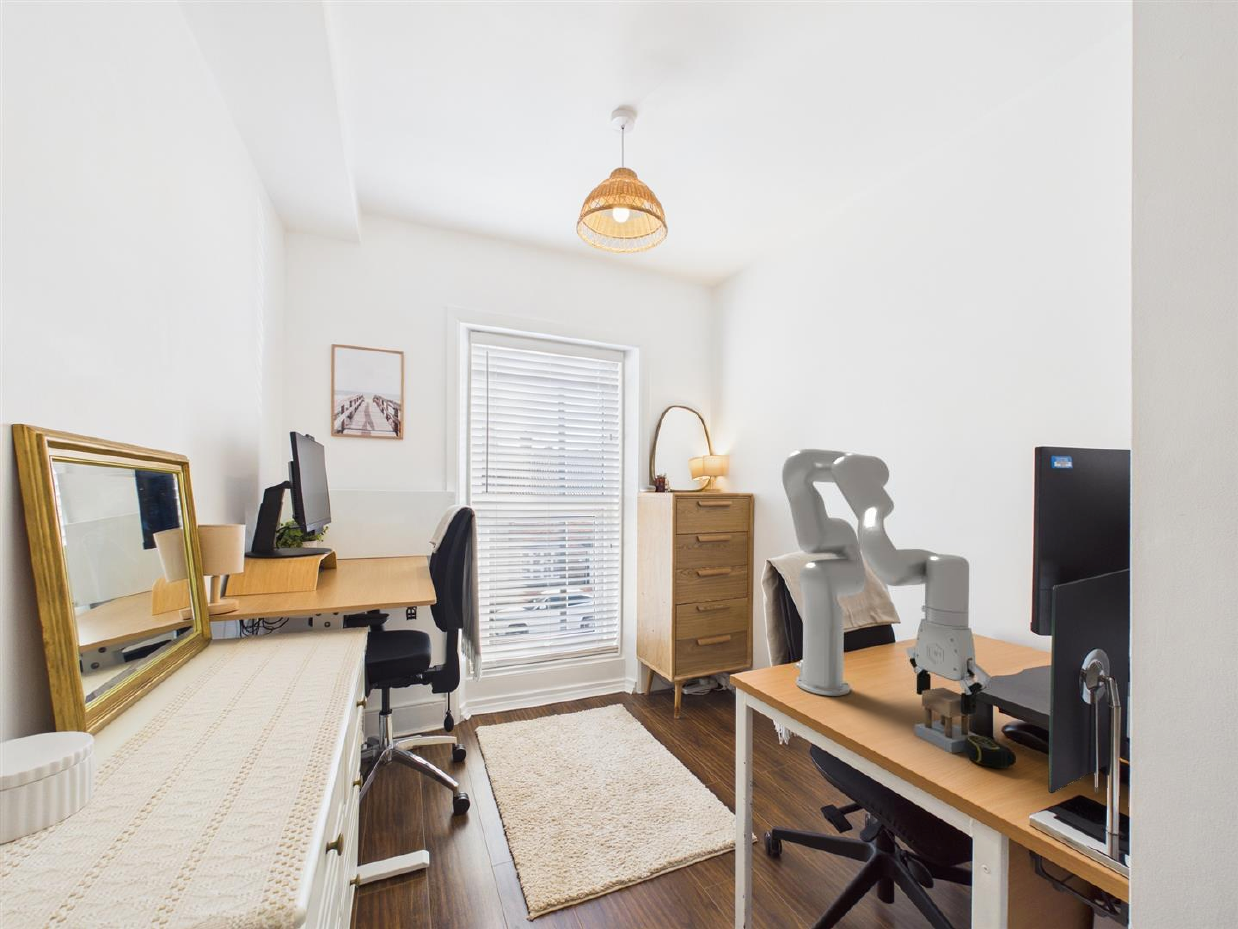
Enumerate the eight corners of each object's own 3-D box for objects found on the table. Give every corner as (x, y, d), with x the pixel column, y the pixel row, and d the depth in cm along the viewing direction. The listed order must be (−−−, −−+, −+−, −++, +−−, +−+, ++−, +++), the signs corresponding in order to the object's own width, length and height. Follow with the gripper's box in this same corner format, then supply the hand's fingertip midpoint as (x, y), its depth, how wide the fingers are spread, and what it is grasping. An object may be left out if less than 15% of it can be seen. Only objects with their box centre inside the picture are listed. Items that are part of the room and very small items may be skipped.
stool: (921, 726, 108) (922, 690, 108) (943, 722, 110) (943, 687, 111) (949, 739, 103) (949, 702, 103) (971, 735, 105) (971, 698, 105)
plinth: (914, 734, 109) (914, 724, 109) (943, 729, 111) (943, 719, 111) (951, 753, 101) (951, 742, 101) (981, 747, 104) (981, 736, 104)
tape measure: (1018, 771, 95) (1018, 750, 96) (984, 773, 94) (984, 751, 95) (987, 752, 102) (987, 732, 102) (954, 754, 101) (954, 733, 101)
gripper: (896, 608, 114) (894, 689, 114) (975, 630, 98) (973, 725, 97) (922, 606, 117) (920, 685, 116) (1003, 627, 101) (1001, 719, 100)
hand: (944, 703), depth 107 cm, fingers open, 9 cm apart
